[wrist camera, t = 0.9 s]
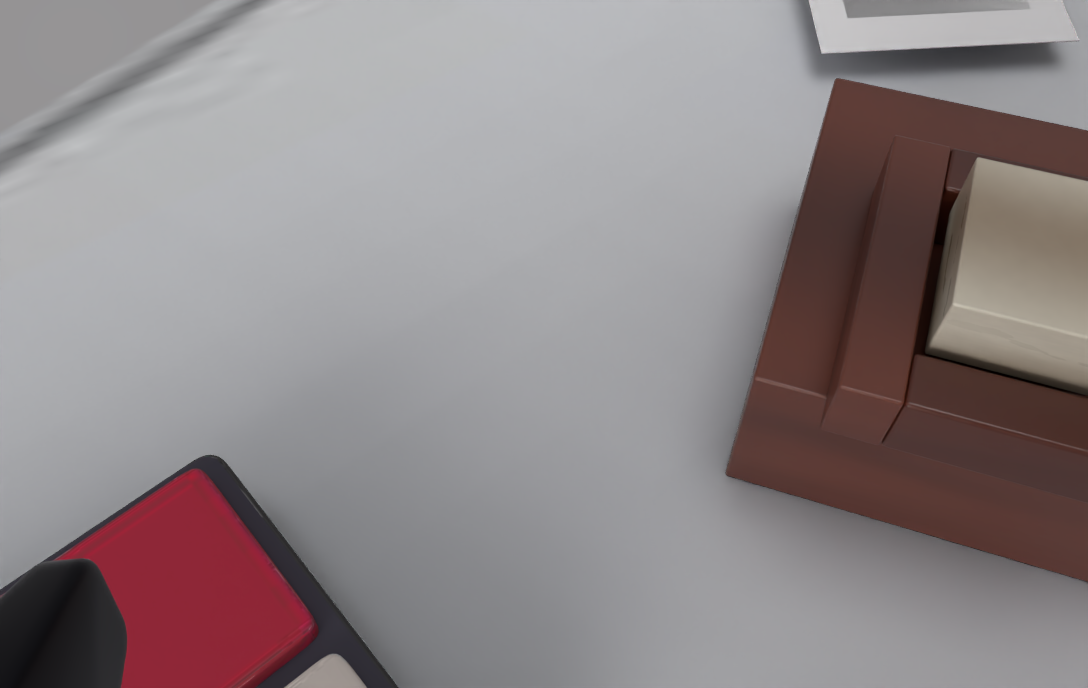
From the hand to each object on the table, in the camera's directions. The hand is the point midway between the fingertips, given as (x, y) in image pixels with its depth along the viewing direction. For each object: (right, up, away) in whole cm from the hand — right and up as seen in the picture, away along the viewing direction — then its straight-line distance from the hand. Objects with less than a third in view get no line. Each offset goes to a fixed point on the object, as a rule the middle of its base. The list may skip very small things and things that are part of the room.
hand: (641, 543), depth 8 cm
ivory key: (+9, +2, +11) cm, 15 cm away
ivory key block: (+10, +1, +18) cm, 20 cm away
